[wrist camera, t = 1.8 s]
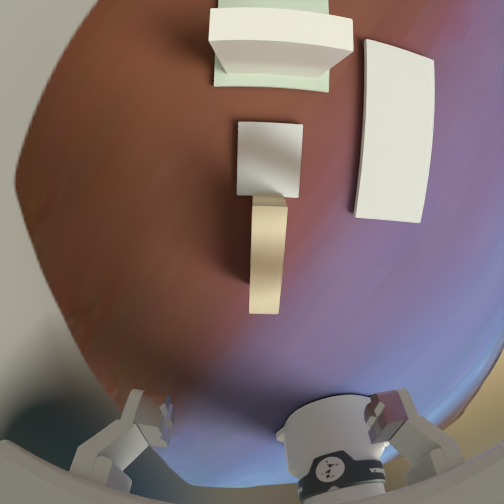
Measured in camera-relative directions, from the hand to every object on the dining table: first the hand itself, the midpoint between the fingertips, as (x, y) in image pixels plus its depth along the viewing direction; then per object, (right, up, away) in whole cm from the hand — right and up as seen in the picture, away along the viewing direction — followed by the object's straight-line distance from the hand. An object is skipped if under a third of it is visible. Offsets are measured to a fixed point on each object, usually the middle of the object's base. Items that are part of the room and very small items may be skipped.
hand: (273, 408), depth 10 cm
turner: (0, +10, +14) cm, 17 cm away
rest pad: (+12, +16, +11) cm, 23 cm away
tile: (+1, +21, +8) cm, 22 cm away
